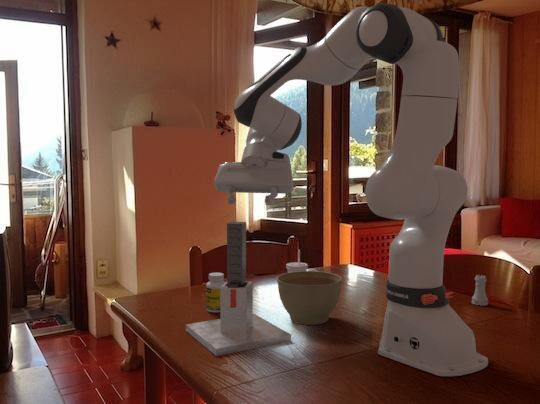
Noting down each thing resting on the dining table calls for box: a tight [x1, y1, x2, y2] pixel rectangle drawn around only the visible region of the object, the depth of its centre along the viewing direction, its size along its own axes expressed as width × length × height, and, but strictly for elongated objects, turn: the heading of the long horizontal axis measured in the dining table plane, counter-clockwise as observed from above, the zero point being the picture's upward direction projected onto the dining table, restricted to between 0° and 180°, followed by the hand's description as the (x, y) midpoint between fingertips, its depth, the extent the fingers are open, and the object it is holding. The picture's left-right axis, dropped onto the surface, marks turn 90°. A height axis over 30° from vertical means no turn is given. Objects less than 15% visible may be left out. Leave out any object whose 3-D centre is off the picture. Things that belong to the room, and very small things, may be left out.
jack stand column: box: [226, 221, 247, 287], centre depth 117 cm, size 4×4×24 cm
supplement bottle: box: [205, 272, 226, 313], centre depth 138 cm, size 5×5×10 cm
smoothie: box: [285, 249, 309, 273], centre depth 151 cm, size 6×6×14 cm
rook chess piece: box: [471, 274, 489, 307], centre depth 144 cm, size 4×4×8 cm
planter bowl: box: [276, 270, 343, 326], centre depth 130 cm, size 16×16×11 cm
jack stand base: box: [185, 280, 292, 357], centre depth 117 cm, size 18×18×13 cm
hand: (249, 203), depth 128 cm, fingers open, 8 cm apart
